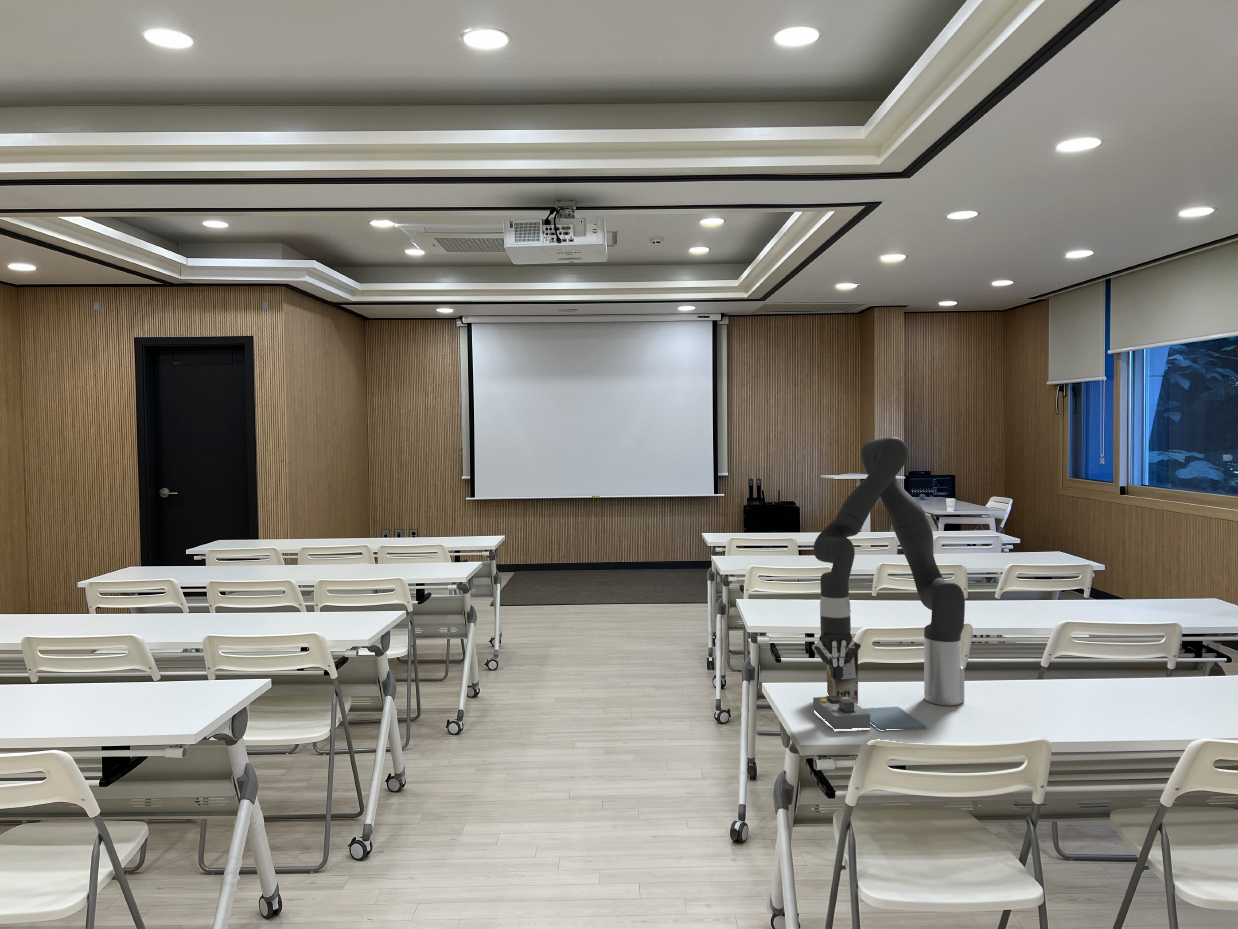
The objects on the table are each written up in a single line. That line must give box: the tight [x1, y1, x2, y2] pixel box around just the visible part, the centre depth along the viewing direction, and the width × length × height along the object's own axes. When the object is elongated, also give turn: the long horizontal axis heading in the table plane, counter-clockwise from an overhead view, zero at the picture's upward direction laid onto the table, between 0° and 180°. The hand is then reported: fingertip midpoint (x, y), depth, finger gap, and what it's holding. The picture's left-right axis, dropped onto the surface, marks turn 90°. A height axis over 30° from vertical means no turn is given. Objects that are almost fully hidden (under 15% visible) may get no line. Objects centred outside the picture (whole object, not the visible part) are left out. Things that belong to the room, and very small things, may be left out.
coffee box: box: [826, 646, 859, 705], centre depth 205 cm, size 9×6×16 cm
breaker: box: [839, 698, 854, 713], centre depth 186 cm, size 3×3×3 cm
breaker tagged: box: [827, 696, 841, 704], centre depth 192 cm, size 3×3×3 cm
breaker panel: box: [812, 696, 871, 729], centre depth 189 cm, size 14×9×5 cm, turn 7°
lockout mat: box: [862, 706, 927, 730], centre depth 190 cm, size 12×14×1 cm
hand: (836, 680), depth 192 cm, fingers closed
